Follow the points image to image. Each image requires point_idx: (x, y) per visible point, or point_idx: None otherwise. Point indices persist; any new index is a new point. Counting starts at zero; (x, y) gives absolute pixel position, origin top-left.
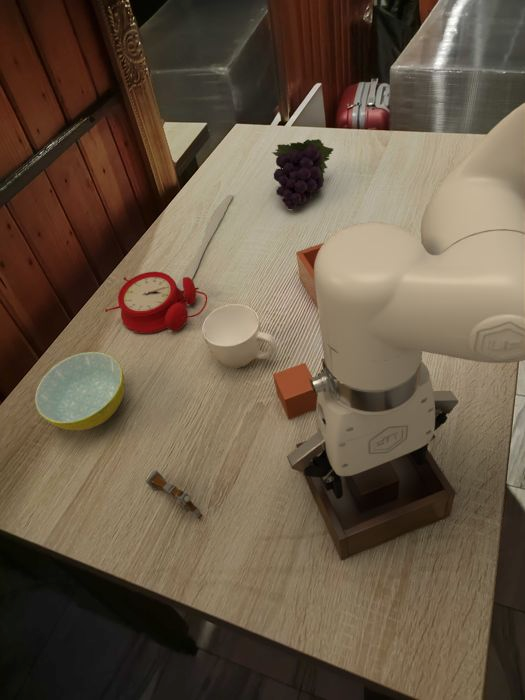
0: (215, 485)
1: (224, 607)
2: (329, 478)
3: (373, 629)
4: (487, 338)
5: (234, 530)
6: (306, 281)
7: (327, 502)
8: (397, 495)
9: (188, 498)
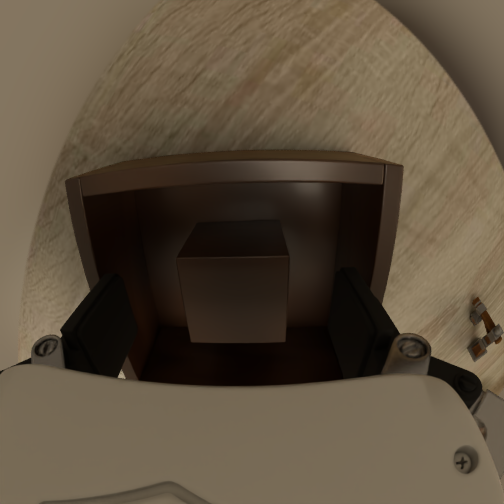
0: (438, 332)
1: (499, 177)
2: (408, 347)
3: (345, 33)
4: None
5: (456, 268)
6: None
7: (380, 267)
8: (195, 227)
9: (499, 331)
